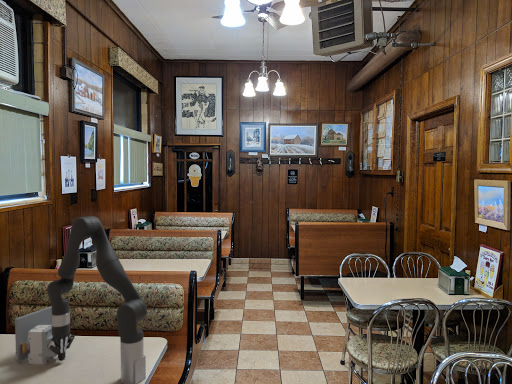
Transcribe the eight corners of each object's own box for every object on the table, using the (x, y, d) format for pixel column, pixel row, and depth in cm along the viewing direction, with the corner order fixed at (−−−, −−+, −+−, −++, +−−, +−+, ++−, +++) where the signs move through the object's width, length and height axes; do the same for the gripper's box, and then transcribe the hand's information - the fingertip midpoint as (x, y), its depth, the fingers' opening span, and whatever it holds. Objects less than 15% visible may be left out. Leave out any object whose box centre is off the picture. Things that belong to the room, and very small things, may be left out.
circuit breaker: (59, 364, 167) (58, 332, 166) (28, 363, 168) (27, 331, 167) (68, 356, 174) (67, 325, 174) (39, 355, 175) (38, 324, 174)
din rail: (62, 335, 187) (62, 328, 187) (23, 353, 169) (23, 344, 169) (60, 335, 188) (59, 327, 188) (20, 352, 170) (20, 343, 169)
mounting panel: (62, 342, 189) (61, 304, 188) (18, 362, 169) (17, 319, 168) (59, 341, 190) (58, 303, 189) (16, 361, 170) (14, 318, 169)
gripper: (53, 329, 160) (54, 368, 161) (79, 318, 172) (80, 355, 173) (41, 326, 163) (42, 365, 164) (67, 316, 175) (68, 351, 176)
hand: (61, 359), depth 168 cm, fingers closed
